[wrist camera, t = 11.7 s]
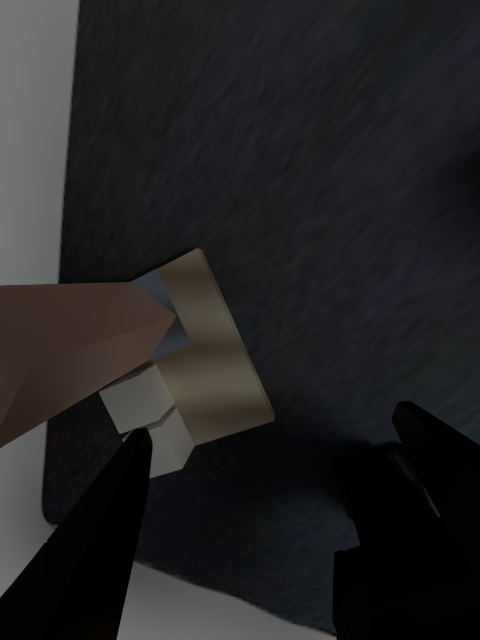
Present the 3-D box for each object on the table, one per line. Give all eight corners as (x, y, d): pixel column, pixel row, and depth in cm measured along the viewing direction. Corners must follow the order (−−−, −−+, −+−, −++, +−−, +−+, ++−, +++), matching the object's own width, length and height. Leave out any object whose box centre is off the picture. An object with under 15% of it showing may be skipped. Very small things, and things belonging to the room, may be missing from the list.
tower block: (176, 315, 22) (30, 365, 10) (149, 359, 23) (-15, 456, 11) (131, 282, 22) (-71, 287, 10) (105, 327, 24) (-103, 384, 11)
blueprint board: (274, 413, 24) (274, 422, 22) (165, 448, 26) (158, 458, 25) (201, 249, 22) (196, 248, 21) (95, 304, 25) (84, 305, 24)
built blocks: (194, 445, 24) (182, 468, 21) (159, 456, 25) (142, 480, 22) (155, 364, 24) (137, 376, 21) (121, 378, 24) (98, 391, 22)
